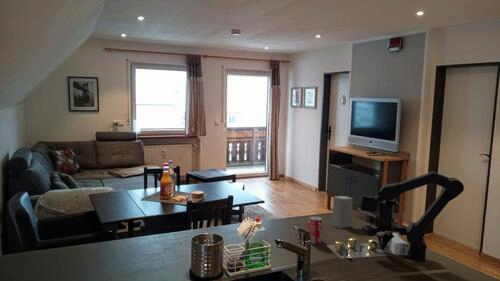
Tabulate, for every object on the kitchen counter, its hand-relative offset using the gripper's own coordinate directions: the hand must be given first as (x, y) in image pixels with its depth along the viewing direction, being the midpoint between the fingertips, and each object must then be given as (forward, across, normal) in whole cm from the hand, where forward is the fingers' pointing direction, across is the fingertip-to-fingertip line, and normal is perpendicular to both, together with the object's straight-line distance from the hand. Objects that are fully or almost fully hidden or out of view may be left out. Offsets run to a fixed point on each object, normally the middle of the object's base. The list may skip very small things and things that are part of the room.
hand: (382, 249), depth 158 cm
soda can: (+3, +24, -17) cm, 30 cm away
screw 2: (+1, 0, -3) cm, 3 cm away
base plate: (+3, +10, -4) cm, 11 cm away
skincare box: (+3, 0, -38) cm, 38 cm away
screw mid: (+2, +10, -5) cm, 11 cm away
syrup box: (0, -11, -11) cm, 16 cm away
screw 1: (+2, +18, -2) cm, 18 cm away
